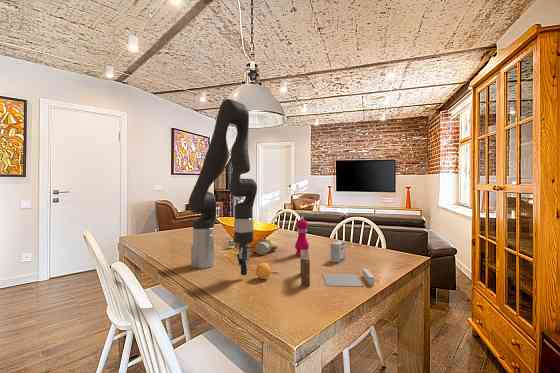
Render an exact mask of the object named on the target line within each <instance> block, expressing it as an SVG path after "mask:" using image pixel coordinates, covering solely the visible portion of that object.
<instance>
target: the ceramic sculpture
mask: <svg viewBox="0 0 560 373" xmlns="http://www.w3.org/2000/svg"><path fill="white" fill-rule="evenodd" d="M277 249H278V246H275V245H273V244H272V242H271V239H267V238H266V237H263V238H261V239H260V240H259V242H256V244H255V245H254V251H255V253H256V254H257V255H260V256H264V255H266V254H267V253H269V252H274V251H276V250H277Z"/></svg>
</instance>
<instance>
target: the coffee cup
mask: <svg viewBox="0 0 560 373" xmlns="http://www.w3.org/2000/svg"><path fill="white" fill-rule="evenodd" d="M235 244H236V243H235V242H234V239H232V240H231V239H230V240H229V241H228V246H229V249H230V248H234V249H235Z"/></svg>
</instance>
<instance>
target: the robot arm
mask: <svg viewBox="0 0 560 373" xmlns="http://www.w3.org/2000/svg"><path fill="white" fill-rule="evenodd" d="M249 122H250V114H249V109H248V107H247V105H246V104H243V103H241V102H239V101H236V100H233V99H230V98H225V99H224V100H223V101H222V102H221V104H220V106H219V109H218V112H217V116H216V121H215V125H214V129H213V133H212V137H211V139H210V143H209V146H208V149H207V151H206V154H205V157H204V159H203V163H202V166H201V170H200V172H199V175H198V177H197V179H196V182H195V184H194V186H193V189H192V190H191V193H190V195H189V199H188V208H189V211H190V212H191V213H193V214H200V216H199V217H198V218H196V219H195V220H194V221H193V222H192V245H191V246H190V268H195V269H208V268H211V267H214V266H215V223H216V220H217V218H216V216H217V199H216V196H215V194H214V193H213V192H211V191H209V189H210V187H211V185H212V184H213V183H214V182H215V181H216V180H217V179H218V178H219V177H220V176H221V174H222V173H223V172H224V171H225V168H226V166H227V163H228V160H229V158H231V159H230V161H231V176H230V182H229V192H230V194H231V195H232V196H233V197H236V198H238V197H239V198H241V197H243V198H244V200H243V201H241V202H238V203H236V204H235V205H234V210H233V211H234V222H233V240H234V242H235V244H238V248H237V254H236V257H237V258H236V259H237V262H238V265H239V266H240V275H241V276H247V274H248V263H249V259H250V250H251V248H250V245H249V244H251V243H253V242H254V219H253V218H254V216H253V214H254V212H253V211H254V210H253V209H254V204H255V200H256V196H257V193H258V192H257V191H258V184H257V181H255V180H254V179H253V178H241V175H245V174H247V173H249V172H251V171H250V170H251V164H250V157H249V156H250V155H249V128H250V126H249V125H250V123H249ZM230 125H234V126H235V127H236V138H235V140H234V143H233V144H232V147H231V150H230V151H229V146H228V141H227V140H228V139H227V134H228V133H227V132H228V130H229V126H230Z"/></svg>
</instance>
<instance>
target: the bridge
mask: <svg viewBox="0 0 560 373" xmlns="http://www.w3.org/2000/svg"><path fill="white" fill-rule="evenodd" d="M308 250H309V249H308ZM308 250H300V256H299V258H300V259H299V260H300V268H299V269H300V280H301V281H300V282H301V283H300V285H301V287H304V288H305V287H306V288H307V287H309V288H310V287H311V286H310V285H311V284H310V283H311V281H310V279H311V278H310V277H311V276H310V275H311V258H310V254H309V251H308Z"/></svg>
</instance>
